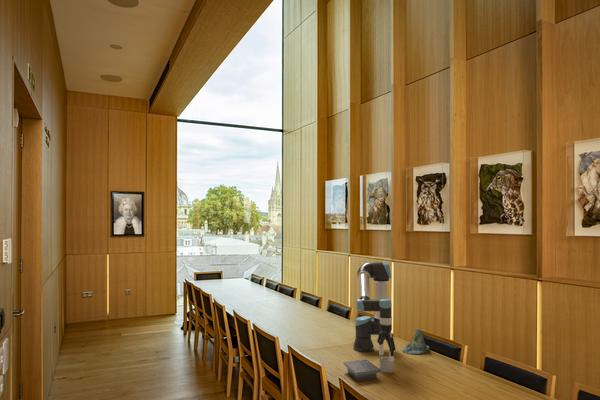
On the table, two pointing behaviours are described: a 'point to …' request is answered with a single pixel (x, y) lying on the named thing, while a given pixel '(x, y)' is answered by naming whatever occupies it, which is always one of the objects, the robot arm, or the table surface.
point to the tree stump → (416, 344)
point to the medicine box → (386, 365)
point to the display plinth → (362, 370)
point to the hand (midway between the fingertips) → (386, 358)
